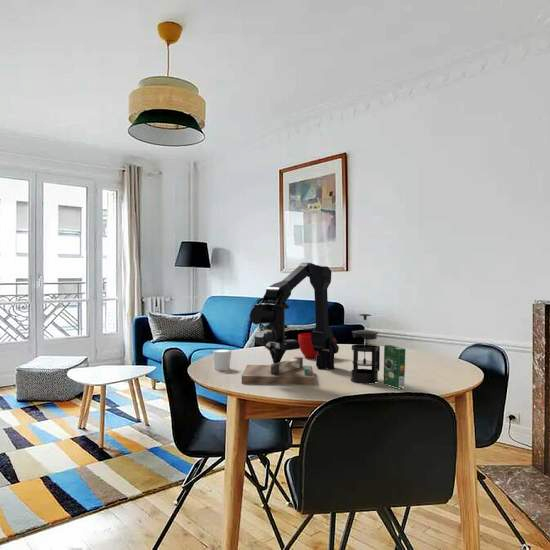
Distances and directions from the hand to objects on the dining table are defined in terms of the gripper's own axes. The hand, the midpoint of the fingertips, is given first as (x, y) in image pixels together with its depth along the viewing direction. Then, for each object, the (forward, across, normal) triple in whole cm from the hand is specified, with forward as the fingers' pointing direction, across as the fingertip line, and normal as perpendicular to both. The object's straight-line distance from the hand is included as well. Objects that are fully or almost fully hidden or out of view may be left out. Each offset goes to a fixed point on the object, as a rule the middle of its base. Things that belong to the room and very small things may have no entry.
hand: (276, 366), depth 164 cm
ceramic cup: (+5, -23, +41) cm, 48 cm away
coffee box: (+4, +32, +24) cm, 40 cm away
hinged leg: (+1, +2, +4) cm, 4 cm away
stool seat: (+4, 0, +1) cm, 4 cm away
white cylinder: (+5, -24, -7) cm, 26 cm away
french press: (+4, +21, +23) cm, 31 cm away
